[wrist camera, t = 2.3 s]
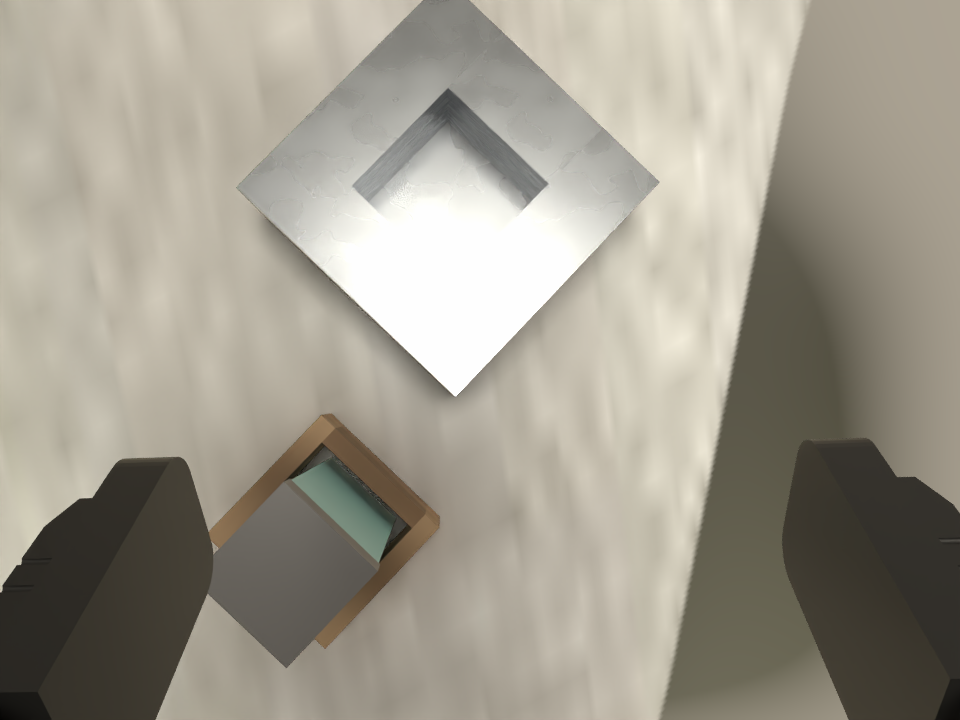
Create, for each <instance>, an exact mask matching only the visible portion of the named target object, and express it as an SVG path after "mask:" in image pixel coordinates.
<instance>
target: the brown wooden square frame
mask: <svg viewBox="0 0 960 720" xmlns="http://www.w3.org/2000/svg"><path fill="white" fill-rule="evenodd" d="M324 446H326V447H327V448H328V449H329V450H330V451H331V452H333V453H334V454H335V455H336V456H337V457H338V458H339V459H340V460H341V461H342V462H343V463H344V464H345V465H346V466H347V467H348V468H349V469H350V470H351V471H352V472H354V473H355V474H356V475H357V476H358V477H359V478H360V479H361V480H362V481H363V482H364V483H365V484H366V485H367V486H368V487H369V488H370V489H371V490H372V491H374V492H375V493H376V494H377V495H378V496H379V497H380V498H381V499H382V500H383V501H384V502H385V503H386V504H387V505H388V506H389V507H390V508H391V509H392V510H393V511H395V512H396V513H397V514H398V515H399V516H400V517H401V518H402V519H403V520H404V521H405V522H406V523H407V524H408V525H407V526H406V527H405V528H404V529H403V530H402V531H401V532H400V534H399V535H398V536H397V537H396V538H395V539H394V540H393V541H392V542H391V543H390V544H389V545H388V546H387V547H386V548H385V549H384V550H383V553H382V556H381V558H380V561H379V564H380V567H379V569H378V571H377V572H376V574H375V575H374V576H373V577H372V578H371V579H370V580H369V581H368V582H367V583H366V584H365V585H364V586H363V587H362V588H361V589H360V591H359V592H358V593H357V594H356V595H355V596H354V597H353V598H352V599H351V600H350V601H349V602H348V603H347V604H346V605H345V606H344V608H343V609H342V610H341V611H340V612H339V613H338V614H337V615H336V616H335V617H334V618H333V619H332V620H331V621H330V622H329V623H328V625H327V626H326V627H325V628H324V629H323V630H322V631H321V632H320V633H319V634H318V635H317V636H316V637H315V638H314V639H315V640H316V641H317V642H318V643H319V644H320V645H321V646H323V647H324V648H325V649H326V648H327V646H328V645H329V644H330V643H331V642H332V641H333V640H334V639H335V638H336V637H337V636H338V635H339V634H340V633H341V632H342V631H343V629H344V628H345V627H346V626H347V625H348V624H349V623H350V622H351V621H352V620H353V619H354V618H355V617H356V616H357V615H358V613H359V612H360V611H361V610H362V609H363V608H364V607H365V606H366V605H367V604H368V603H369V602H370V601H371V600H372V599H373V598H374V596H375V595H376V594H377V593H378V592H379V591H380V590H381V589H382V588H383V587H384V586H385V585H386V584H387V583H388V582H389V580H390V579H391V578H392V577H393V576H394V575H395V574H396V573H397V572H398V571H399V570H400V569H401V568H402V567H403V566H404V564H405V563H406V562H407V561H408V560H409V559H410V558H411V557H412V556H413V555H414V554H415V553H416V552H417V551H418V550H419V549H420V547H421V546H422V545H423V544H424V543H425V542H426V541H427V540H428V539H429V538H430V537H431V536H432V535H433V534H434V533H435V531H436V530H437V529H438V528H439V521H440V516H439V515H437V514H436V513H435V512H434V511H433V510H432V509H431V508H430V507H429V506H428V505H427V504H426V503H425V502H424V501H423V500H422V499H421V498H420V497H419V496H418V495H416V494H415V493H414V492H413V491H412V490H411V489H410V488H409V487H408V486H407V485H406V484H405V483H404V482H403V481H402V480H401V479H400V478H399V477H398V476H397V475H395V474H394V473H393V472H392V471H391V470H390V469H389V468H388V467H387V466H386V465H385V464H384V463H383V462H382V461H381V460H380V459H379V458H378V457H377V456H375V455H374V454H373V453H372V452H371V451H370V450H369V449H368V448H367V447H366V446H365V445H364V444H363V443H362V442H361V441H360V440H359V439H358V438H357V437H356V436H354V435H353V434H352V433H351V432H350V431H349V430H348V429H347V428H346V427H345V426H344V425H343V424H342V423H341V422H340V421H339V420H338V419H337V418H336V417H335V416H333V415H332V414H325V415H321V416H320V417H319V418H318V419H317V420H316V421H315V422H314V423H313V424H312V425H311V426H310V427H309V428H308V429H307V430H306V431H305V433H304V434H303V435H302V436H301V437H300V438H299V439H298V440H297V441H296V442H295V443H294V444H293V445H292V446H291V447H290V448H289V449H288V450H287V451H286V452H285V453H284V454H283V455H282V456H281V457H280V458H279V459H278V461H277V462H276V463H275V464H274V465H273V466H272V467H271V468H270V469H269V470H268V471H267V472H266V473H265V474H264V475H263V476H262V477H261V478H260V479H259V480H258V481H257V482H256V483H255V484H254V485H253V486H252V487H251V489H250V490H249V491H248V492H247V493H246V494H245V495H244V496H243V497H242V498H241V499H240V500H239V501H238V502H237V503H236V504H235V505H234V506H233V507H232V508H231V509H230V510H229V511H228V512H227V513H226V514H225V515H224V517H223V518H222V519H221V520H220V521H219V522H218V523H217V524H216V525H215V526H214V527H213V528H212V529H211V530H210V531H209V536H210V539H211V541H212V542H213V543H214V544H215V545H216V546H217V547H218V548H220V547H221V546H222V545H223V544H224V543H225V542H226V541H227V540H228V539H229V538H230V537H231V536H232V535H233V534H234V533H235V532H236V531H237V530H238V529H239V528H240V527H241V526H242V525H243V524H244V523H245V521H246V520H247V519H248V518H249V517H250V516H251V515H252V514H253V513H254V512H255V511H256V510H257V509H258V508H259V507H260V506H261V505H262V504H263V503H264V502H265V501H266V500H267V499H268V498H269V497H270V495H271V494H272V493H273V492H274V491H275V490H276V489H277V488H278V487H279V486H280V485H281V484H282V483H283V482H284V481H286V480H288V479H291V480H292V479H293V478H294V477H295V476H296V475H297V474H298V473H299V472H300V471H301V470H302V469H303V468H304V467H305V466H306V465H307V464H308V463H309V462H310V461H311V460H312V459H313V458H314V457H315V456H316V454H317V453H318V452H319V451H320V450H321V449H322V448H323V447H324Z"/></svg>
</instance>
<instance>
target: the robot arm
mask: <svg viewBox="0 0 960 720" xmlns="http://www.w3.org/2000/svg"><path fill="white" fill-rule="evenodd" d="M782 546H783V547H782V548H783V558H784V564H785V568H786V572H787V575H788V578H789V581H790V583H791V585H792V588H793V590H794V592H795V595H796V597H797V600H798V601H799V604H800V606H801V609H802V611H803V614H804V616H805V618H806V621H807V623H808V625H809V627H810V630H811V632H812V635H813V637H814V639H815V642H816V644H817V646H818V649H819V651H820V653H821V656H822V658H823V661H824V663H825V665H826V668H827V670H828V672H829V674H830V677H831V679H832V681H833V684H834V686H835V689H836V691H837V693H838V696H839V698H840V700H841V703H842V705H843V707H844V710H845V712H846V714H847V717H848V719H849V720H960V513H959V512H958V510H957V509H956V508H955V506H954V505H953V504H952V503H950V502H949V501H948V500H946V499H945V498H944V497H942V496H941V495H939V494H938V493H937V492H935V491H934V490H932V489H931V488H930V487H928V486H927V485H926V484H924V483H923V482H921V481H920V480H919V479H917V478H916V477H896V475H895V474H894V472H893V471H892V469H891V468H890V466H889V465H888V464H887V462H886V461H885V459H884V458H883V456H882V455H881V454H880V452H879V450H878V449H877V448H876V446H875V445H874V443H873V442H872V441H870V440H869V439H867V438H849V439H847V438H846V439H815V440H814V439H813V440H805V441H803V442H802V443H801V445H800V447H799V450H798V453H797V458H796V463H795V468H794V474H793V480H792V484H791V489H790V495H789V500H788V505H787V510H786V516H785V521H784V527H783V534H782ZM212 573H213V548H212V543H211V539H210V536H209V532H208V529H207V526H206V522H205V519H204V516H203V512H202V509H201V506H200V502H199V499H198V496H197V492H196V489H195V486H194V482H193V479H192V476H191V472H190V469H189V467H188V465H187V463H186V462H185V460H184V459H182V458H180V457H163V458H130V459H122V460H119V461H118V462H117V463H116V464H115V465H114V467H113V468H112V469H111V471H110V472H109V474H108V475H107V477H106V478H105V480H104V481H103V483H102V484H101V486H100V487H99V489H98V490H97V492H96V493H95V495H94V496H93V498H84V499H79V500H77V501H76V502H75V503H74V504H72V505H71V506H70V507H69V508H67V509H66V510H65V511H63V512H62V513H61V514H60V515H58V516H57V517H56V518H55V519H53V520H52V521H51V522H50V523H48V524H47V525H46V526H45V527H44V528H43V529H42V531H41V532H40V534H39V535H38V536H37V538H36V539H35V541H34V542H33V543H32V545H31V546H30V548H29V549H28V550H27V552H26V553H25V555H24V556H23V557H22V564H21V565H17V566H16V567H15V569H14V570H13V572H12V573H11V574H10V576H9V577H8V579H7V580H6V581H5V583H4V584H3V590H2V593H0V720H155V719H156V717H157V715H158V712H159V710H160V707H161V705H162V702H163V700H164V697H165V695H166V693H167V690H168V688H169V685H170V683H171V680H172V678H173V676H174V673H175V671H176V668H177V666H178V663H179V661H180V659H181V656H182V654H183V651H184V649H185V646H186V644H187V642H188V639H189V637H190V634H191V632H192V629H193V627H194V625H195V622H196V620H197V617H198V615H199V612H200V610H201V608H202V605H203V603H204V600H205V598H206V595H207V593H208V590H209V587H210V584H211V579H212Z"/></svg>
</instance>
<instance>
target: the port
mask: <svg viewBox="0 0 960 720" xmlns="http://www.w3.org/2000/svg"><path fill="white" fill-rule="evenodd" d="M658 183H659V181H658V180H657V179H656V178H655V177H654V176H653V175H652V174H651V173H650V172H649V171H648V170H647V169H645V168H644V167H643V166H642V165H641V164H640V163H639V162H638V161H637V160H636V159H635V158H634V157H633V156H632V155H631V154H630V153H629V152H628V151H627V150H626V149H625V148H623V147H622V146H621V145H620V144H619V143H618V142H617V141H616V140H615V139H614V138H613V137H612V136H611V135H610V134H609V133H608V132H607V131H606V130H605V129H604V128H603V127H601V126H600V125H599V124H598V123H597V122H596V121H595V120H594V119H593V118H592V117H591V116H590V115H589V114H588V113H587V112H586V111H585V110H584V109H583V108H582V107H580V106H579V105H578V104H577V103H576V102H575V101H574V100H573V99H572V98H571V97H570V96H569V95H568V94H567V93H566V92H565V91H564V90H563V89H562V88H561V87H560V86H558V85H557V84H556V83H555V82H554V81H553V80H552V79H551V78H550V77H549V76H548V75H547V74H546V73H545V72H544V71H543V70H542V69H541V68H540V67H539V66H538V65H536V64H535V63H534V62H533V61H532V60H531V59H530V58H529V57H528V56H527V55H526V54H525V53H524V52H523V51H522V50H521V49H520V48H519V47H518V46H517V45H515V44H514V43H513V42H512V41H511V40H510V39H509V38H508V37H507V36H506V35H505V34H504V33H503V32H502V31H501V30H500V29H499V28H498V27H497V26H496V25H495V24H493V23H492V22H491V21H490V20H489V19H488V18H487V17H486V16H485V15H484V14H483V13H482V12H481V11H480V10H479V9H478V8H477V7H476V6H475V5H474V4H473V3H471V2H470V1H469V0H423V1H422V2H421V3H420V4H419V5H418V6H417V7H416V8H415V9H414V10H413V11H412V12H411V13H410V14H409V15H408V16H407V17H406V18H405V19H404V20H403V21H402V22H401V23H400V24H399V25H398V26H397V27H396V28H395V29H394V30H393V31H392V32H391V33H390V34H389V35H388V36H387V37H386V38H385V39H384V40H383V41H382V42H381V43H380V44H379V45H378V46H377V47H376V48H375V49H374V50H373V51H372V52H371V53H370V54H369V55H368V56H367V57H366V58H365V59H364V60H363V61H362V62H361V63H360V64H359V65H358V66H357V67H356V68H355V69H354V70H353V71H352V72H351V73H350V74H349V75H348V76H347V77H346V78H345V79H344V80H343V81H342V82H341V83H340V84H339V85H338V86H337V87H336V88H335V89H334V90H333V91H332V92H331V93H330V94H329V95H328V96H327V97H326V98H325V99H324V100H323V101H322V102H321V103H320V104H319V105H318V106H317V107H316V108H315V109H314V110H313V111H312V112H311V113H310V114H309V115H308V116H307V117H306V118H305V119H304V120H303V121H302V122H301V123H300V124H299V125H298V126H297V127H296V128H295V129H294V130H293V131H292V132H291V133H290V134H289V135H288V136H287V137H286V138H285V139H284V140H283V141H282V142H281V143H280V144H279V145H278V146H277V147H276V148H275V149H274V150H273V151H272V152H271V153H270V154H269V155H268V156H267V157H266V158H265V159H264V160H263V161H262V162H261V163H260V164H259V165H258V166H257V167H256V168H255V169H254V170H253V171H252V172H251V173H250V174H249V175H248V176H247V177H246V178H245V179H244V180H243V181H242V182H241V183H240V184H239V185H238V186H237V187H236V188H237V189H238V190H239V191H240V192H241V193H242V194H243V195H244V196H245V197H246V198H247V199H248V200H249V201H250V202H251V203H252V204H253V205H254V206H255V207H256V208H257V209H258V210H259V211H260V212H261V213H262V214H263V215H264V216H265V217H266V218H267V219H268V220H269V221H270V222H271V223H272V224H273V225H274V226H275V227H276V228H277V229H278V230H279V231H281V232H282V233H283V234H284V235H285V236H286V237H287V238H288V239H289V240H290V241H291V242H292V243H293V244H294V245H295V246H296V247H297V248H298V249H299V250H300V251H302V252H303V253H304V254H305V255H306V256H307V257H308V258H309V259H310V260H311V261H312V262H313V263H314V264H315V265H316V266H317V267H318V268H319V269H320V270H321V271H323V272H324V273H325V274H326V275H327V276H328V277H329V278H330V279H331V280H332V281H333V282H334V283H335V284H336V285H337V286H338V287H339V288H340V289H341V290H342V291H344V292H345V293H346V294H347V295H348V296H349V297H350V298H351V299H352V300H353V301H354V302H355V303H356V304H357V305H358V306H359V307H360V308H361V309H362V310H363V311H365V312H366V313H367V314H368V315H369V316H370V317H371V318H372V319H373V320H374V321H375V322H376V323H377V324H378V325H379V326H380V327H381V328H382V329H383V330H384V331H386V332H387V333H388V334H389V335H390V336H391V337H392V338H393V339H394V340H395V341H396V342H397V343H398V344H399V345H400V346H401V347H402V348H403V349H404V350H405V351H407V352H408V353H409V354H410V355H411V356H412V357H413V358H414V359H415V360H416V361H417V362H418V363H419V364H420V365H421V366H422V367H423V368H424V369H425V370H426V371H427V372H429V373H430V374H431V375H432V376H433V377H434V378H435V379H436V380H437V381H438V382H439V383H440V384H441V385H442V386H443V387H444V388H445V389H446V390H447V391H448V392H450V393H451V394H452V395H453V396H454V397H456V396H457V395H458V394H459V393H460V392H461V390H462V389H463V388H464V387H465V386H466V385H467V384H468V383H469V382H470V381H471V380H472V379H473V378H474V377H475V376H476V375H477V374H478V373H479V372H480V371H481V369H482V368H483V367H484V366H485V365H486V364H487V363H488V362H489V361H490V360H491V359H492V358H493V357H494V356H495V355H496V354H497V353H498V352H499V351H500V349H501V348H502V347H503V346H504V345H505V344H506V343H507V342H508V341H509V340H510V339H511V338H512V337H513V336H514V335H515V334H516V333H517V332H518V331H519V330H520V328H521V327H522V326H523V325H524V324H525V323H526V322H527V321H528V320H529V319H530V318H531V317H532V316H533V315H534V314H535V313H536V312H537V311H538V310H539V308H540V307H541V306H542V305H543V304H544V303H545V302H546V301H547V300H548V299H549V298H550V297H551V296H552V295H553V294H554V293H555V292H556V291H557V290H558V289H559V287H560V286H561V285H562V284H563V283H564V282H565V281H566V280H567V279H568V278H569V277H570V276H571V275H572V274H573V273H574V272H575V271H576V270H577V269H578V267H579V266H580V265H581V264H582V263H583V262H584V261H585V260H586V259H587V258H588V257H589V256H590V255H591V254H592V253H593V252H594V251H595V250H596V249H597V248H598V246H599V245H600V244H601V243H602V242H603V241H604V240H605V239H606V238H607V237H608V236H609V235H610V234H611V233H612V232H613V231H614V230H615V229H616V228H617V226H618V225H619V224H620V223H621V222H622V221H623V220H624V219H625V218H626V217H627V216H628V215H629V214H630V213H631V212H632V211H633V210H634V209H635V208H636V207H637V205H638V204H639V203H640V202H641V201H642V200H643V199H644V198H645V197H646V196H647V195H648V194H649V193H650V192H651V191H652V190H653V189H654V188H655V187H656V185H657V184H658Z"/></svg>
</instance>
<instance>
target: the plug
mask: <svg viewBox="0 0 960 720" xmlns="http://www.w3.org/2000/svg"><path fill="white" fill-rule="evenodd" d="M395 519H396V517H395V516H394V515H392V514H391V513H390V512H389V511H388V510H387V509H386V508H385V507H384V506H383V505H382V504H381V503H380V502H379V501H378V500H377V499H376V498H375V497H374V496H373V495H371V494H370V493H369V492H368V491H367V490H366V489H365V488H364V487H363V486H362V485H361V484H360V483H359V482H358V481H357V480H356V479H355V478H354V477H353V476H351V475H350V474H349V473H348V472H347V471H346V470H345V469H344V468H343V467H342V466H341V465H340V464H339V463H338V462H337V461H336V460H335V459H334V458H333V457H332V458H330V459H328V460H326V461H324V462H323V463H321V464H319V465H317V466H315V467H314V468H312V469H310V470H308V471H306V472H304V473H303V474H301V475H299V476H297V477H295V478H294V479H292V480H291V479H288V480H286V481H284V482H283V483H282V484H281V485H280V486H279V487H278V488H277V489H276V490H275V491H274V492H273V493H272V494H271V495H270V497H269V498H268V499H267V500H266V501H265V502H264V503H263V504H262V505H261V506H260V507H259V508H258V509H257V510H256V511H255V512H254V513H253V514H252V515H251V516H250V517H249V518H248V519H247V520H246V521H245V523H244V524H243V525H242V526H241V527H240V528H239V529H238V530H237V531H236V532H235V533H234V534H233V535H232V536H231V537H230V538H229V539H228V540H227V541H226V542H225V543H224V544H223V545H222V546H221V547H220V549H219V550H218V551H217V552H216V553H215V554H214V555H213V573H212V579H211V584H210V587H209V590H208V594H209V595H210V596H211V597H212V598H213V599H214V600H215V601H216V602H217V603H218V604H219V605H220V606H222V607H223V608H224V609H225V610H226V611H227V612H228V613H229V614H230V615H231V616H232V617H233V618H234V619H235V620H236V621H237V622H238V623H239V624H240V625H242V626H243V627H244V628H245V629H246V630H247V631H248V632H249V633H250V634H251V635H252V636H253V637H254V638H255V639H256V640H257V641H258V642H259V643H260V644H262V645H263V646H264V647H265V648H266V649H267V650H268V651H269V652H270V653H271V654H272V655H273V656H274V657H275V658H276V659H277V660H278V661H279V662H280V663H281V664H283V665H284V666H285V667H286V668H287V667H288V666H289V665H290V664H291V663H292V662H293V661H294V660H295V659H296V657H297V656H298V655H299V654H300V653H301V652H302V651H303V650H304V649H305V648H306V647H307V646H308V645H309V644H310V643H311V642H312V640H313V639H314V638H315V637H316V636H317V635H318V634H319V633H320V632H321V631H322V630H323V629H324V628H325V627H326V626H327V625H328V623H329V622H330V621H331V620H332V619H333V618H334V617H335V616H336V615H337V614H338V613H339V612H340V611H341V610H342V609H343V608H344V606H345V605H346V604H347V603H348V602H349V601H350V600H351V599H352V598H353V597H354V596H355V595H356V594H357V593H358V592H359V591H360V589H361V588H362V587H363V586H364V585H365V584H366V583H367V582H368V581H369V580H370V579H371V578H372V577H373V576H374V575H375V574H376V572H377V571H378V569H379V567H380V564H379V561H380V558H381V556H382V553H383V550H384V548H385V545H386V543H387V540H388V537H389V535H390V532H391V530H392V527H393V524H394V522H395Z"/></svg>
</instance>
